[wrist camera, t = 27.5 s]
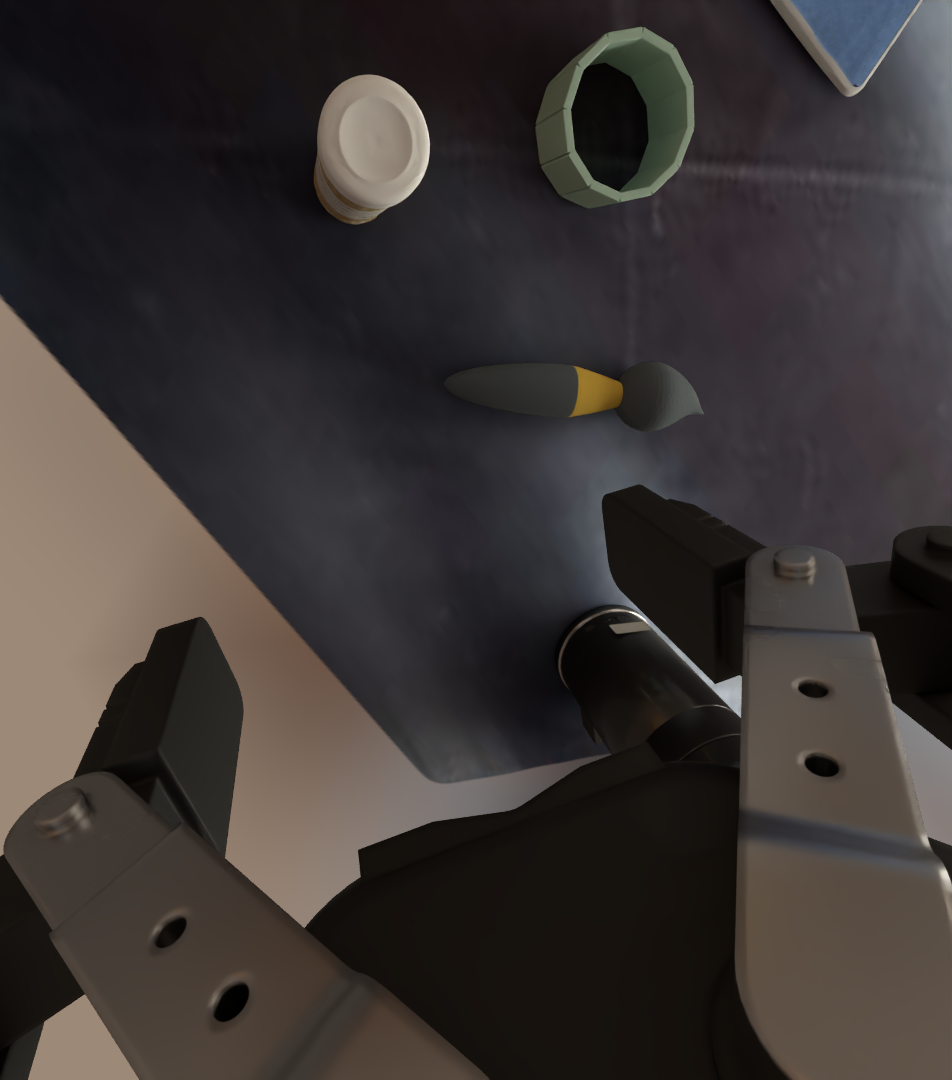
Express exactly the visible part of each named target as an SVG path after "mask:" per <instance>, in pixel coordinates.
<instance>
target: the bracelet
mask: <svg viewBox="0 0 952 1080" xmlns="http://www.w3.org/2000/svg"><path fill="white" fill-rule="evenodd" d="M673 46H674V45H672V44H671V43H669V42H667V41H666V40H664V39H662V38H661V37H659V36H657V35H656V34H654V33H652V32H651V31H649V30H647V29H646V28H642V27H637V28H632V29H626V30H620V31H614V32H609V33H607V34H605V35H603V36H602V37H601V38H599V39H598V40H597V41H595V42H594V43H593V44H592V45H590V46H589V47H588V48H586V49H585V50H584V51H583V52H581V53H580V54H579V55H577V56H576V57H575V58H574V59H572V60H571V61H570V62H569V63H568V64H567V65H566V66H565V67H564V68H563V70H562V71H561V72H560V73H559V74H558V75H557V76H556V77H555V78H554V79H553V80H552V81H551V82H550V83H549V84H548V86H547V87H546V91H545V94H544V97H543V101H542V104H541V107H540V111H539V114H538V117H537V120H536V125H537V126H535V129H536V137H537V145H538V153H539V161H540V165H542V166H541V168H542V170H543V171H544V173H545V174H546V176H547V177H548V179H549V180H550V182H551V183H552V185H553V186H554V188H555V190H556V191H557V193H558V194H559V195H561V197H563V198H565V199H567V200H570V201H572V202H574V203H576V204H578V205H581V206H583V207H585V208H589V209H591V208H595V207H600V206H604V205H609V204H614V203H618V202H623V201H628V200H632V199H637V198H641V197H646V196H650V195H651V194H653V193H654V192H656V191H657V190H658V189H659V188H660V187H661V186H662V185H663V184H664V183H665V182H666V181H667V180H668V179H669V178H670V177H671V176H672V175H673V174H674V173H675V172H676V171H677V170H678V167H680V165H681V162H682V159H683V157H684V154H685V151H686V149H687V146H688V143H689V141H690V138H691V135H692V133H693V130H694V129H693V127H694V97H693V85H691V84H692V80H691V78H690V76H689V74H688V72H687V70H686V68H685V66H684V64H683V62H682V60H681V58H680V56H679V54H678V52H677V50H676V48H675V47H674V48H673ZM600 63H607V64H609V65H611V66H613V67H614V68H616V69H618V70H620V71H621V72H623V73H625V74H627V75H629V76H630V77H631V78H632V80H633V81H634V83H635V85H636V87H637V89H638V91H639V93H640V94H641V96H642V98H643V100H644V102H645V104H646V106H647V120H648V138H649V142H648V145H647V147H646V150H645V153H644V156H643V159H642V161H641V164H640V167H639V170H638V172H637V174H636V175H635V176H634V177H633V178H632V179H631V180H630V181H629V182H628V183H627V184H626V185H625V186H624V187H623V188H622V189H621V190H620V191H619V192H618V191H616V190H614V189H612V188H610V187H607V186H605V185H603V184H601V183H599V182H597V181H595V180H593V178H592V177H591V175H590V174H589V172H588V170H587V169H586V167H585V165H584V164H583V162H582V161H581V159H580V157H579V156H578V154H577V152H576V151H575V147H574V137H573V127H572V118H571V107H572V104H573V101H574V98H575V95H576V91H577V88H578V85H579V82H580V79H581V76H582V73H583V70H584V69H585V68H586V67H587V66H589V65H595V64H600Z"/></svg>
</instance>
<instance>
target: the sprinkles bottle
mask: <svg viewBox="0 0 952 1080" xmlns="http://www.w3.org/2000/svg"><path fill="white" fill-rule="evenodd" d="M317 146H318V152H317V159H316V164H315V168H314V186H315V189H316V192H317V196H318V198H319V200H320V202H321V204H322V205H323V206H324V207H325V209H326V210H327V211H328V212H329V213H330V214H331V215H333V216H334V217H335V218H337V219H338V220H340V221H342V222H345V223H349V224H361V223H366V222H368V221H371V220H373V219H374V218H376V217H377V216H378V215H379V214H380V213H381V212H383V211H384V210H386V209H387V208H388V207H391V206H394V205H396V204H398V203H400V202H401V201H403V200H404V199H405V198H407V197H408V196H409V195H410V194H411V193H412V192H413V191H414V190H415V189H416V187H417V186H418V185H419V183H420V182H421V180H422V178H423V176H424V174H425V171H426V168H427V165H428V160H429V152H430V141H429V134H428V129H427V125H426V122H425V119H424V117H423V114H422V112H421V110H420V108H419V107H418V105H417V103H416V102H415V100H414V99H413V98H412V97H411V96H410V95H409V94H408V93H407V92H406V91H405V90H404V89H403V88H402V87H401V86H400V85H398V84H397V83H395V82H393V81H391V80H389V79H387V78H384V77H381V76H377V75H360V76H356V77H353V78H350V79H348V80H346V81H345V82H343V83H341V84H340V85H339V86H338V87H337V88H335V90H334V91H333V92H332V93H331V94H330V96H329V97H328V99H327V101H326V103H325V105H324V107H323V109H322V112H321V116H320V120H319V125H318V134H317Z"/></svg>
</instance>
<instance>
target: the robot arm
mask: <svg viewBox="0 0 952 1080" xmlns="http://www.w3.org/2000/svg"><path fill="white" fill-rule="evenodd" d="M602 512H603V521H604V529H605V538H606V546H607V555H608V563H609V568H610V571H611V574H612V577H613V579H614V581H615V583H616V585H617V587H618V588H619V589H620V590H621V592H623V593H624V594H625V595H626V596H627V597H628V598H629V599H630V600H631V601H632V602H633V603H634V604H635V605H636V606H637V607H638V608H639V609H640V610H641V611H642V612H643V613H644V614H645V615H646V616H647V617H648V618H649V619H650V620H651V621H652V622H653V623H654V624H655V625H656V626H657V627H658V628H659V629H660V630H661V631H662V632H663V633H664V634H665V635H666V636H667V637H668V638H669V639H670V640H671V641H672V642H673V643H674V644H675V645H676V646H677V647H678V648H679V649H680V650H681V651H682V652H683V653H684V654H685V655H686V656H687V657H688V658H689V659H690V660H691V661H692V662H693V663H694V664H695V665H696V666H697V667H698V668H699V669H700V670H702V671H703V672H704V673H705V674H706V675H707V676H708V677H709V678H710V679H711V680H712V681H713V682H714V683H715V684H716V683H719V682H722V681H724V680H727V679H730V678H733V677H735V676H738V675H741V676H742V706H741V718H740V717H739V716H738V715H737V714H736V713H735V712H734V711H733V710H732V709H731V708H730V707H729V706H728V705H727V704H726V703H725V702H724V701H723V700H722V699H721V698H720V697H719V696H718V695H717V694H716V693H715V692H714V691H713V690H712V689H711V688H710V687H709V686H708V685H707V684H706V683H705V682H704V681H703V680H702V679H701V678H700V677H699V676H698V675H697V674H696V673H695V672H694V671H693V670H692V669H691V667H690V666H689V665H688V664H687V663H686V662H685V661H684V660H683V659H682V658H681V657H680V656H679V655H678V654H677V653H676V652H675V651H674V650H673V649H672V648H671V647H670V646H669V645H668V644H667V643H666V642H665V641H664V640H663V639H662V638H661V637H660V636H659V635H658V634H657V633H656V632H655V631H654V630H653V629H652V628H651V627H650V625H649V624H648V622H647V621H646V620H645V619H644V618H643V617H642V616H641V615H640V614H639V613H638V612H636V611H635V610H633V609H631V608H629V607H626V606H622V605H606V606H601V607H598V608H595V609H592V610H590V611H588V612H586V613H585V614H583V615H581V616H580V617H579V618H577V619H576V620H575V621H574V622H573V623H572V624H571V625H570V626H569V627H568V628H567V629H566V631H565V632H564V634H563V635H562V637H561V639H560V641H559V643H558V646H557V649H556V654H555V665H556V669H557V672H558V674H559V676H560V678H561V679H562V681H563V682H564V684H565V685H566V687H567V688H568V689H569V690H570V691H571V693H572V694H573V696H574V697H575V699H576V701H577V702H578V704H579V705H580V707H581V713H582V720H583V726H584V727H585V729H586V730H587V732H588V734H589V735H590V737H591V738H592V740H593V741H594V743H595V745H597V744H600V743H604V744H605V745H606V747H607V748H608V750H609V752H610V753H611V755H610V756H607V757H605V758H602V759H599V760H597V761H594V762H591V763H589V764H586V765H583V766H581V767H579V768H577V769H576V770H574V771H573V772H571V773H570V774H568V775H567V776H565V777H564V778H562V779H561V780H559V781H558V782H556V783H555V784H553V785H552V786H550V787H549V788H547V789H546V790H544V791H543V792H541V793H540V794H538V795H537V796H535V797H534V798H532V799H531V800H530V801H528V802H526V803H525V804H523V805H522V806H520V807H518V808H516V809H513V810H510V811H505V812H499V813H491V814H484V815H477V816H471V817H463V818H456V819H449V820H442V821H436V822H431V823H429V824H426V825H423V826H420V827H418V828H415V829H412V830H410V831H407V832H405V833H402V834H399V835H397V836H394V837H391V838H388V839H386V840H383V841H381V842H378V843H375V844H373V845H370V846H367V847H365V848H362V849H359V850H358V854H359V863H360V874H361V877H360V878H359V879H357V880H356V881H354V882H353V883H351V884H350V885H348V886H347V887H346V888H345V889H344V890H342V891H341V892H340V893H339V894H337V895H336V896H335V897H334V898H332V900H330V901H329V902H328V903H327V905H325V906H324V907H323V908H322V909H321V910H320V911H319V912H318V913H317V914H316V915H315V916H314V917H313V919H312V920H311V921H310V922H309V924H307V926H306V927H305V928H303V927H302V926H301V925H300V924H299V923H298V922H297V921H295V920H294V919H293V918H292V917H291V916H290V915H289V914H288V913H286V912H285V911H284V910H283V909H282V908H281V907H280V906H279V905H277V904H276V903H275V902H274V901H273V900H272V899H270V898H269V897H268V896H267V895H266V894H265V893H264V892H263V891H262V890H260V889H259V888H258V887H257V886H256V885H254V883H252V882H251V881H250V880H249V879H248V878H247V877H245V875H243V874H242V873H241V872H240V871H239V870H238V869H236V868H235V867H234V866H233V865H232V864H231V863H230V862H229V861H227V860H226V859H225V852H226V845H227V837H228V829H229V821H230V813H231V806H232V798H233V790H234V782H235V775H236V767H237V759H238V752H239V744H240V736H241V728H242V721H243V701H242V696H241V692H240V689H239V686H238V683H237V681H236V679H235V677H234V675H233V673H232V671H231V669H230V666H229V664H228V662H227V660H226V658H225V656H224V654H223V652H222V650H221V648H220V646H219V644H218V642H217V640H216V638H215V636H214V633H213V631H212V629H211V628H210V626H209V624H208V623H207V621H206V620H205V619H204V618H202V617H198V618H194V619H191V620H188V621H184V622H181V623H178V624H174V625H171V626H168V627H165V628H161V629H159V630H158V631H157V632H156V634H155V637H154V640H153V642H152V644H151V647H150V649H149V652H148V654H147V657H146V659H145V661H143V662H140V663H137V664H135V665H134V666H133V667H132V668H131V669H130V670H129V671H128V672H127V673H126V674H125V675H124V677H122V679H121V680H120V681H119V682H118V683H117V684H116V685H115V687H114V689H113V691H112V693H111V696H110V698H109V700H108V702H107V705H106V708H107V709H106V710H104V711H103V713H102V716H101V718H100V720H99V722H98V724H99V727H96V729H95V731H94V733H93V735H92V738H91V740H90V742H89V744H88V747H87V749H86V751H85V753H84V755H83V758H82V760H81V762H80V764H79V767H78V769H77V771H76V773H75V775H74V778H73V779H71V780H69V781H67V782H65V783H63V784H61V785H59V786H57V787H56V788H54V789H53V790H51V791H50V792H48V793H46V794H45V795H44V796H42V797H41V798H40V799H38V800H37V801H36V802H35V803H34V804H33V805H31V806H30V807H29V808H28V809H27V810H26V811H25V812H24V813H23V814H22V815H21V816H20V817H19V819H18V820H17V821H16V822H15V824H14V825H13V827H12V828H11V830H10V831H9V833H8V835H7V837H6V839H5V843H4V854H3V855H2V856H0V1080H28V1077H29V1073H30V1070H31V1067H32V1063H33V1060H34V1056H35V1053H36V1049H37V1046H38V1042H39V1039H40V1036H41V1032H42V1029H43V1025H44V1021H46V1020H47V1019H49V1018H50V1017H52V1016H53V1015H55V1014H56V1013H58V1012H59V1011H61V1010H62V1009H63V1008H65V1007H66V1006H68V1005H69V1004H71V1003H72V1002H74V1001H75V1000H77V999H78V998H80V997H81V996H83V995H84V994H85V995H86V996H87V998H88V999H89V1001H90V1002H91V1004H92V1005H93V1007H94V1009H95V1010H96V1012H97V1014H98V1015H99V1017H100V1018H101V1020H102V1021H103V1023H104V1025H105V1026H106V1028H107V1029H108V1031H109V1032H110V1034H111V1036H112V1037H113V1039H114V1040H115V1042H116V1044H117V1045H118V1047H119V1048H120V1050H121V1051H122V1053H123V1055H124V1056H125V1057H126V1059H127V1061H128V1062H129V1064H130V1066H131V1067H132V1069H133V1070H134V1072H135V1073H136V1075H137V1077H138V1078H139V1080H952V846H951V845H948V844H945V843H942V842H940V841H937V840H934V839H932V838H929V837H927V835H926V831H925V827H924V823H923V819H922V816H921V812H920V808H919V804H918V800H917V797H916V792H915V789H914V785H913V781H912V777H911V773H910V770H909V766H908V762H907V758H906V754H905V750H904V746H903V742H902V739H901V735H900V731H899V727H898V724H897V719H896V716H895V712H894V708H893V704H895V705H896V706H897V707H898V708H900V709H901V710H902V711H903V712H905V713H906V714H907V715H909V716H910V717H911V718H912V719H913V720H915V721H916V722H917V723H918V724H920V725H921V726H922V727H923V728H925V729H926V730H927V731H929V732H930V733H931V734H933V735H934V736H935V737H936V738H937V739H939V740H940V741H941V742H943V743H944V744H945V745H946V746H947V747H949V748H950V749H951V750H952V526H925V527H917V528H913V529H909V530H907V531H904V532H902V533H900V534H899V535H898V536H896V537H895V539H894V542H893V550H892V558H891V561H886V562H877V563H869V564H861V565H853V566H845V565H844V563H843V562H842V561H841V559H839V558H838V557H837V556H835V555H834V554H832V553H830V552H828V551H825V550H823V549H819V548H816V547H811V546H805V545H777V546H771V547H765V546H764V545H762V544H760V543H759V542H757V541H755V540H753V539H752V538H750V537H748V536H747V535H745V534H743V533H741V532H740V531H738V530H736V529H735V528H733V527H731V526H730V525H727V526H726V525H725V523H724V522H723V521H721V520H719V519H718V518H716V517H711V514H709V513H707V512H706V511H704V510H702V509H700V508H699V507H697V506H695V505H693V504H689V503H685V502H681V501H676V500H672V499H669V500H665V499H664V498H662V497H661V496H659V495H657V494H656V493H654V492H652V491H651V490H649V489H648V488H646V487H644V486H643V485H635V486H632V487H629V488H625V489H622V490H619V491H616V492H612V493H609V494H606V495H604V497H603V500H602ZM892 703H893V704H892Z"/></svg>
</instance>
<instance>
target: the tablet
mask: <svg viewBox="0 0 952 1080" xmlns="http://www.w3.org/2000/svg"><path fill="white" fill-rule="evenodd" d="M770 1H771V3H772V4H773V5H774V7H775V8H776V10H777V11H778V12H779V14H780V15H781V17H782V18H783V19H784V21H785V22H786V23H787V25H788V26H789V27H790V29H791V30H792V31H793V33H794V34H795V35H796V37H797V38H798V39H799V41H800V42H801V43H802V45H803V46H804V47H805V49H806V50H807V51H808V53H809V54H810V55H811V56H812V58H813V59H814V60H815V62H816V63H817V64H818V65H819V67H820V68H821V69H822V70H823V72H824V73H825V74H826V75H827V77H828V78H829V79H830V80H831V81H832V83H833V84H834V85H835V86H836V87H837V89H838V90H839V91H840V93H841V94H843V95H844V96H847V97H851V96H854V95H855V94H857V93H858V92H859V91H860V90H862V89H863V87H864V86H865V84H866V83H867V81H868V80H869V78H870V77H871V76H872V74H873V73H874V71H875V70H876V68H877V67H878V65H879V64H880V62H881V61H882V59H883V58H884V57H885V55H886V54H887V52H888V51H889V49H890V48H891V46H892V45H893V43H894V42H895V40H896V39H897V38H898V36H899V35H900V33H901V32H902V30H903V29H904V27H905V26H906V24H907V23H908V21H909V20H910V18H911V17H912V15H913V14H914V13H915V11H916V10H917V8H918V7H919V5H920V4H921V2H922V1H923V0H770Z"/></svg>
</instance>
